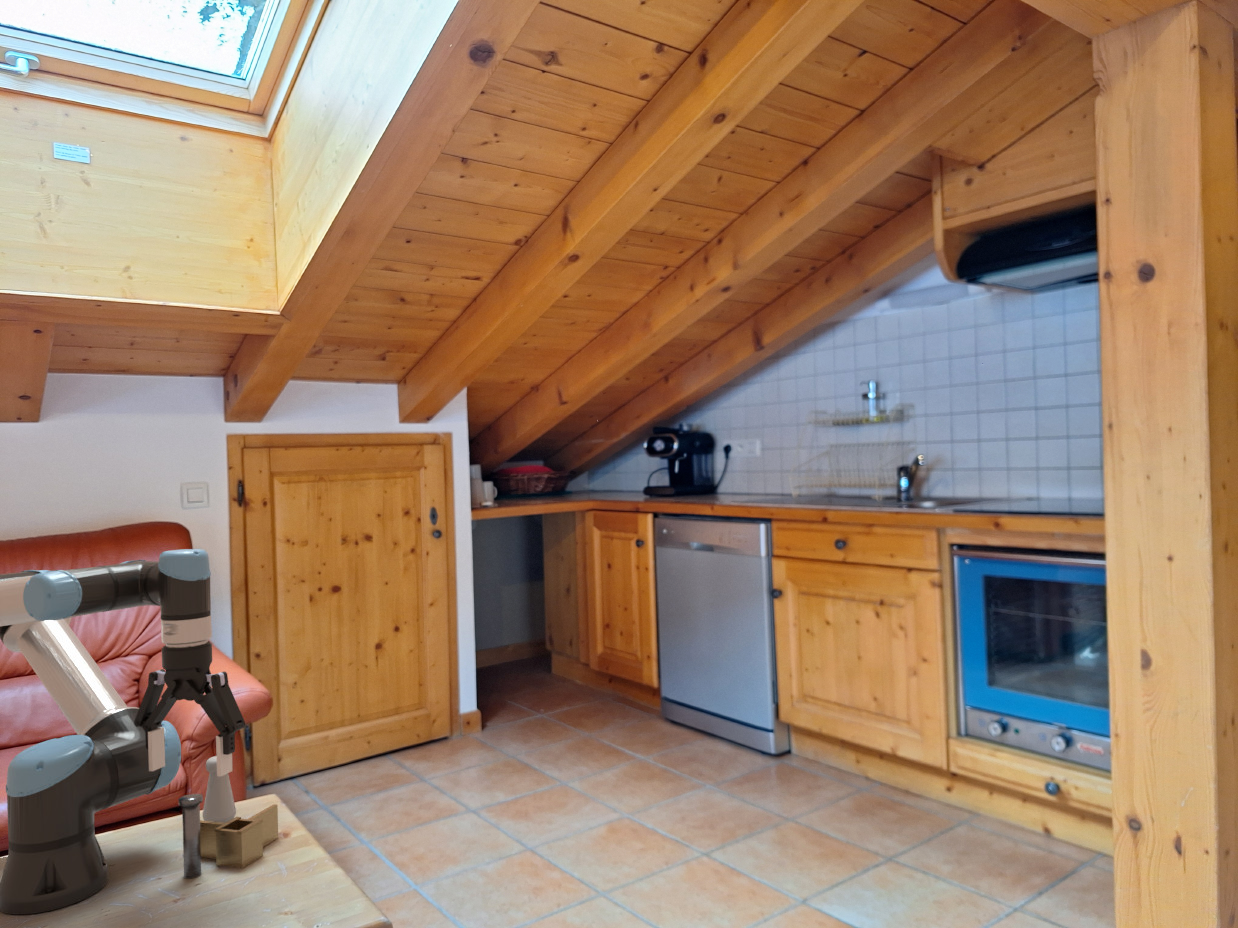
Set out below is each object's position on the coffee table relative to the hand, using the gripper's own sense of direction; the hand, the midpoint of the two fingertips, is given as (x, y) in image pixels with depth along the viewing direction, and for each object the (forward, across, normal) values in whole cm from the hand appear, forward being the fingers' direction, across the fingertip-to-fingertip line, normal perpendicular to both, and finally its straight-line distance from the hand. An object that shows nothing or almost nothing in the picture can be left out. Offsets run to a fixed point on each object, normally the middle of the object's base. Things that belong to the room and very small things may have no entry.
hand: (190, 771), depth 146 cm
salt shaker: (+17, -10, +18) cm, 27 cm away
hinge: (+17, 0, +10) cm, 20 cm away
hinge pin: (+17, 0, 0) cm, 17 cm away
